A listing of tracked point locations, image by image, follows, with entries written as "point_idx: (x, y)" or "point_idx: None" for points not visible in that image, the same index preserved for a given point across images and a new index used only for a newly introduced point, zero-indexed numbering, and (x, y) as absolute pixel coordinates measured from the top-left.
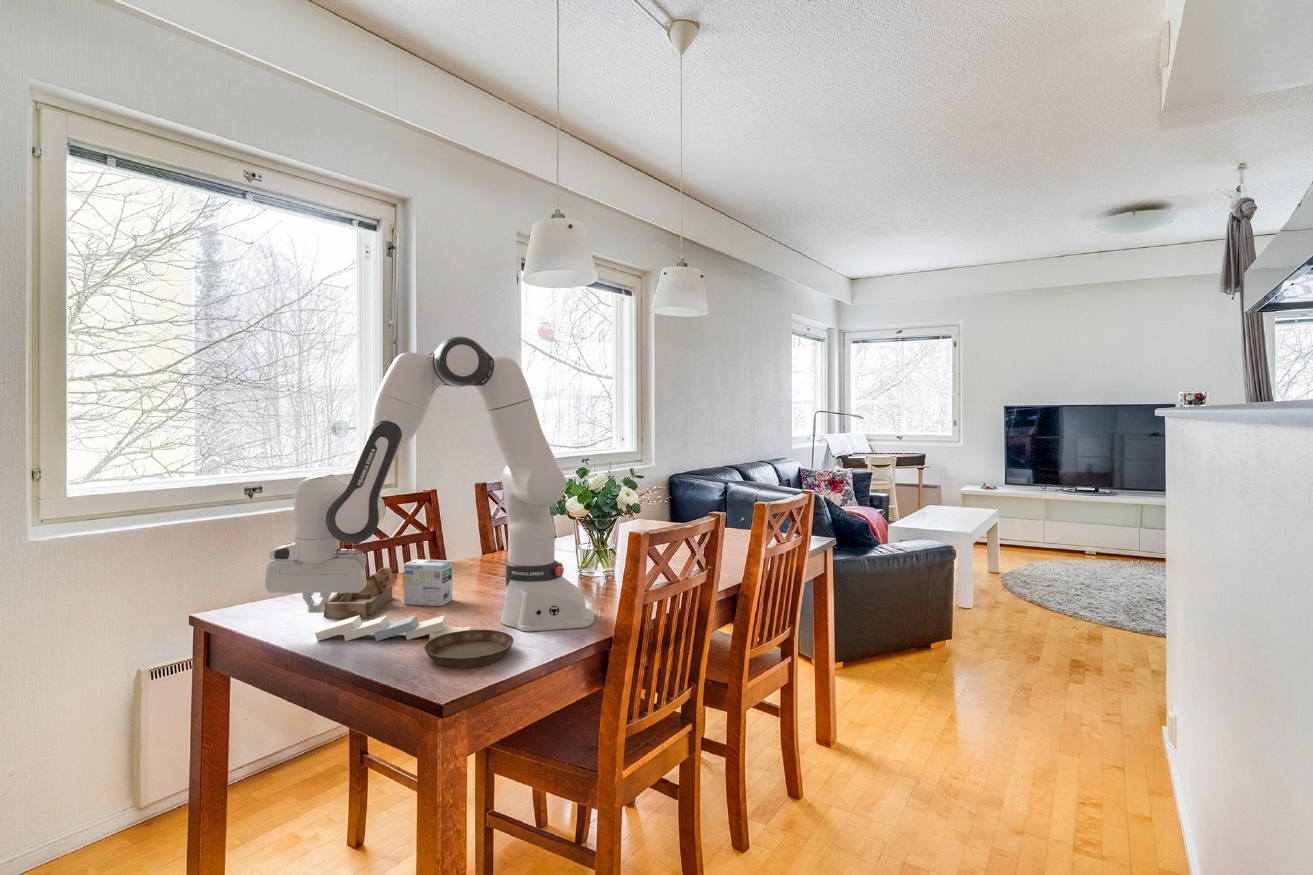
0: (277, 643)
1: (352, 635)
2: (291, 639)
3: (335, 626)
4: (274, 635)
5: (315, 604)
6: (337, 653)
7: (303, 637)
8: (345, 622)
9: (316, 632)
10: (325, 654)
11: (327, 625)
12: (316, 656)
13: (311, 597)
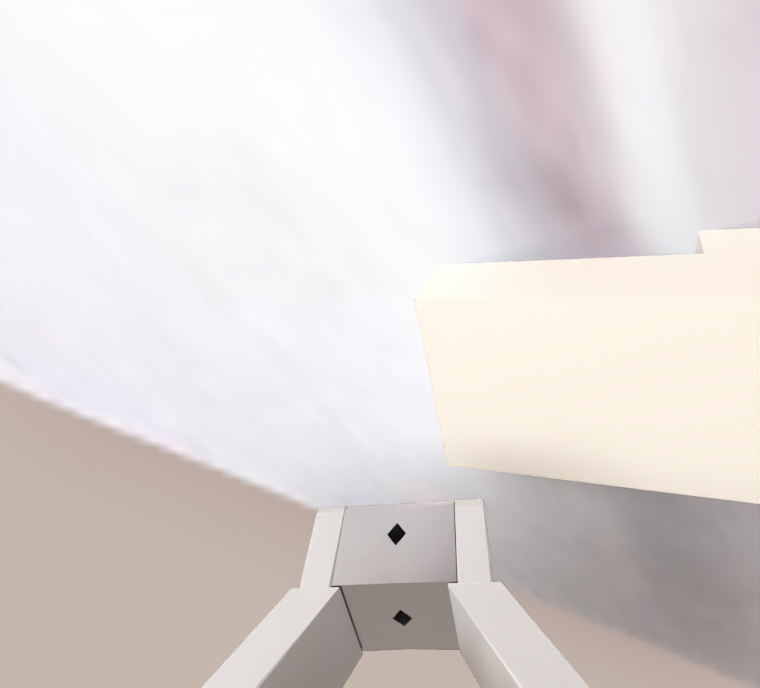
0: (231, 468)
1: None
2: (259, 403)
3: (622, 473)
4: (73, 341)
5: (393, 625)
6: (689, 576)
7: (312, 361)
8: (719, 444)
9: (454, 458)
10: (622, 587)
11: (468, 327)
12: (583, 606)
13: (276, 668)
